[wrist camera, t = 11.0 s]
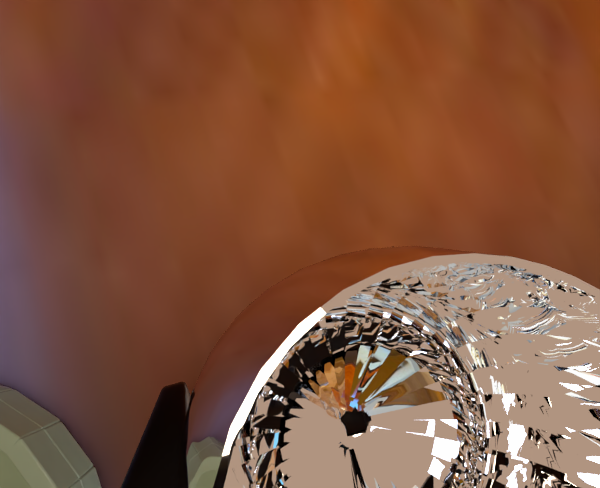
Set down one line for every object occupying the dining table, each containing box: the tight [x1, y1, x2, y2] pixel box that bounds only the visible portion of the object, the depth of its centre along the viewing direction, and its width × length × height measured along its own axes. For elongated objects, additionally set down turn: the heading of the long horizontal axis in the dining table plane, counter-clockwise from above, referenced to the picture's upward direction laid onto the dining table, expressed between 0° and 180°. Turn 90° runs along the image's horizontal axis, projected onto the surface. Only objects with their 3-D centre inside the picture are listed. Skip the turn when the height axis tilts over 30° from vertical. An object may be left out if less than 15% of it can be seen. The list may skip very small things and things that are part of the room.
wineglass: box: [178, 246, 600, 488], centre depth 10 cm, size 6×6×12 cm
